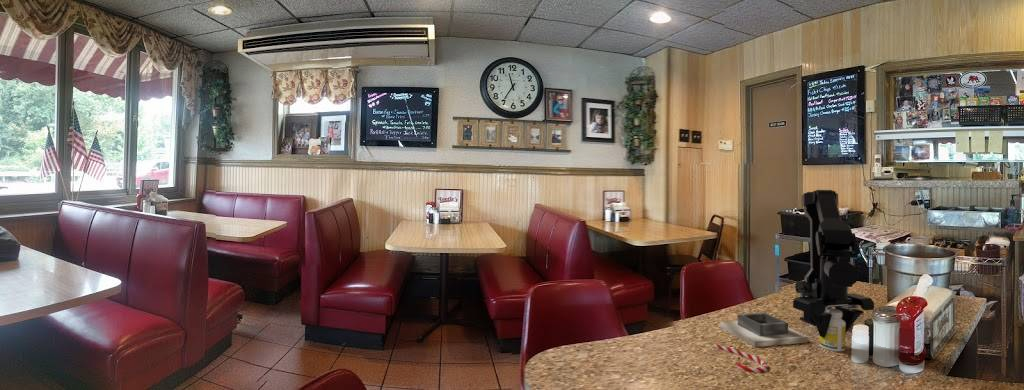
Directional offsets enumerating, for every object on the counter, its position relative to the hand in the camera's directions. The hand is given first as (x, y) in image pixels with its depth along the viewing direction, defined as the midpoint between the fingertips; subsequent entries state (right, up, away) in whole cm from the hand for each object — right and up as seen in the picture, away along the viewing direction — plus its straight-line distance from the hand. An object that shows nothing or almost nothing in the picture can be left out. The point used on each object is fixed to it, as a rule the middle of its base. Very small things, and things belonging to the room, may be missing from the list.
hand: (832, 336), depth 108 cm
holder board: (-13, -3, +9) cm, 16 cm away
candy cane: (-27, -4, -5) cm, 28 cm away
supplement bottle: (0, -3, 0) cm, 3 cm away
